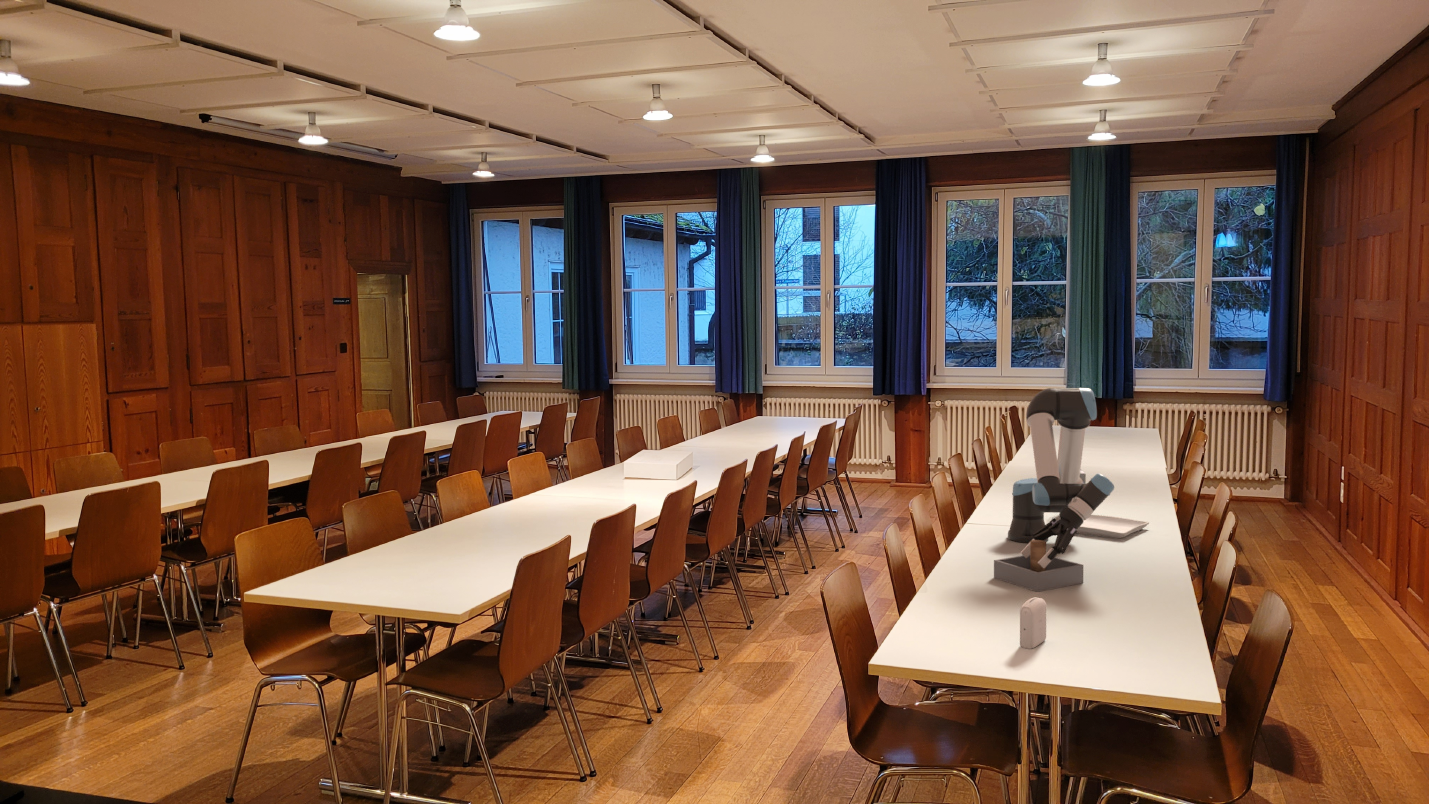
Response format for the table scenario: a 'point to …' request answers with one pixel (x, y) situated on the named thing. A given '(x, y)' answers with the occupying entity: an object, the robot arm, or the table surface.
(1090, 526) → the square plate
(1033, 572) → the tote
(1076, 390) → the robot arm
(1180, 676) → the table surface
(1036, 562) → the walnut cylinder
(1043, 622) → the photo printer
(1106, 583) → the table surface
